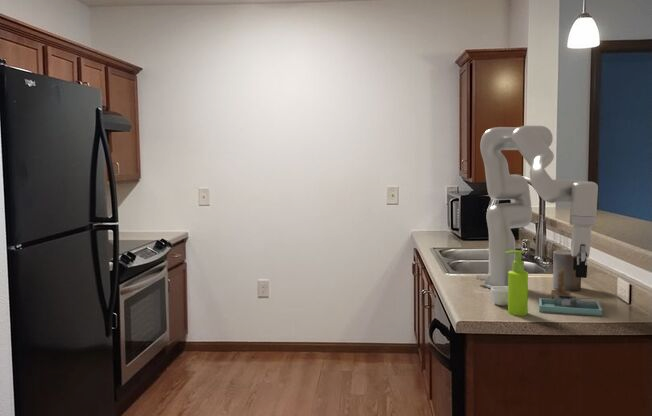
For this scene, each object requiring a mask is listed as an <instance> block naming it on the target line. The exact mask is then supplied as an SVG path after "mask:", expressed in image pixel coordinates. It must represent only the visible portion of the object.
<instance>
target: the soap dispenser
mask: <svg viewBox="0 0 652 416" xmlns="http://www.w3.org/2000/svg"><path fill="white" fill-rule="evenodd" d="M505 253H507V254H512V253H515V260H514V261H513V271H509V272H508V306H507V313H508V314H509V315H513V316H521V317H523V316H526V315H528V308H529V307H528V302H529V300H528V299H529V298H528V296H529V272H528V271H525V261H523V260H522V254H524V253H525V251H523V250H519V249H517V250H516V249H515V250H511V251H507V252H505Z"/></svg>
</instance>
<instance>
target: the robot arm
mask: <svg viewBox="0 0 652 416" xmlns="http://www.w3.org/2000/svg"><path fill="white" fill-rule="evenodd" d="M552 143H553V134H552V131H551V129H549V128H548V127H547V126H544V125H520V126H518V127H517V126H516V127H514V126H513V127H512V126H510V127H509V126H498V127H497V126H496V127H491V128H489V129H486V130H485V132H484V133H483V134H482V136H481V139H480V143H479V144H480V145H479V148H480V154H481V157H482V161H483V165H484V172H485V173H484V174H485V181H486V189H487V194H488V197H489V198H490V199H491V200H494V201H507V200H510V202H504V203H496V204H493V205H491V206H490V207H489V208H487V211H486V216H485V217H486V223H487V224H486V225H487V229H488V230H487V231H488V272H487V274H484V275H483V274H476V280H477V281H478V280H479V281H484V283H483V284H484V287H485V288H486V289H487V288H488V289H491V287H493V286H508V272H509V271H513V261H514V260H516V253H512V254H507V253H505V252H507V251H511V250H516V239H515V236H514V234H513V232H512V229H519V228H524V227H527V226H529V225H530V224H531V222H532V219H533V209H532V201H531V194H530V185H529V183H528V181H527V179H526V178H525V177H524V176H523V175H521V174H517V173H516V174H510V171H509V164H508V160H507V158H506V156H505V155H504V154H503V153H502V151H518V152H519V153H520V154H521V156H522V157H523V159H525V161H526V163H527V164H528V166H530V167H529V180H530V184H531V186H532V188H533V189H534V190H535V192H536V193H537V195H538V196H539V197H540V198H541V199H542V200H543V201H544V202H546V203H550V204H557V203H558V204H560V203H570V210H569V211H570V213H569V225H570V226H572V230H571V231H572V232H571V243H570V250H571V255H572V256H573V257H574V262H573V270H576V273H575V276H576V277H579V278H581V279H586V278H587V277H588V276H587V275H588V258H589V257H590V251H591V241H592V240H591V239H592V228H593V227H597V212H598V211H597V210H598V193H599V186H598V184H597V183H596V182H594V181H585V180H584V181H583V180H578V179H574V178H568V179H567V178H562V179H561V178H560V179H558V178H557V179H553V178H552V177H551V176H550V175H549V173H548V172H547V170H546V168H547V167H548V166H549V165H550V164H551V163H552V162H553V160H554V159H555V158H554V157H555V155H554V152H553V150H552V149H550V146H551V145H552Z"/></svg>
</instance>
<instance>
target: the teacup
mask: <svg viewBox="0 0 652 416" xmlns="http://www.w3.org/2000/svg"><path fill="white" fill-rule="evenodd" d="M490 296H491V297H490V298H491V299H492V302H493V303H494V304H495V305H496V306H501V307H508V286H493V287H491V288H490Z"/></svg>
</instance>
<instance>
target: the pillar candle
mask: <svg viewBox="0 0 652 416" xmlns="http://www.w3.org/2000/svg"><path fill="white" fill-rule="evenodd" d="M552 255H553V256H552V258H553V265H552V268H553V269H552V270H553V271H552V272H553V273H552V274H553V275H552V284H553V285H552V288H554V290H558V269H564V270H565V279H564V290H567V291H570V292H573V291H574V292H575V291H580V290H582V278H579V277H576V276H575V273H576V270H573V262H574V257H573V256H572V255H571V249H569V248H567V249H558V250H553V254H552Z"/></svg>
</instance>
